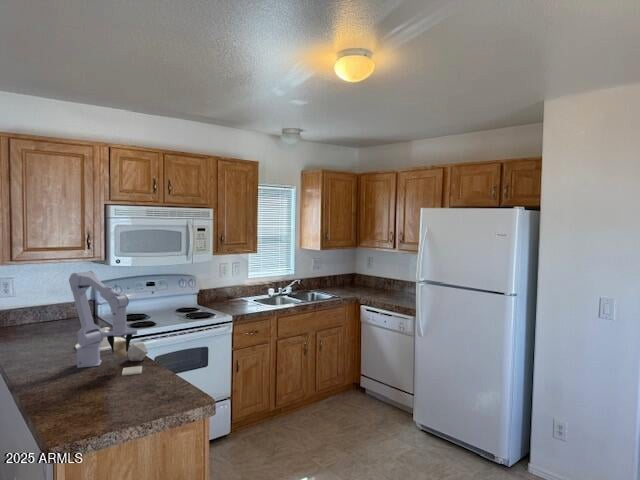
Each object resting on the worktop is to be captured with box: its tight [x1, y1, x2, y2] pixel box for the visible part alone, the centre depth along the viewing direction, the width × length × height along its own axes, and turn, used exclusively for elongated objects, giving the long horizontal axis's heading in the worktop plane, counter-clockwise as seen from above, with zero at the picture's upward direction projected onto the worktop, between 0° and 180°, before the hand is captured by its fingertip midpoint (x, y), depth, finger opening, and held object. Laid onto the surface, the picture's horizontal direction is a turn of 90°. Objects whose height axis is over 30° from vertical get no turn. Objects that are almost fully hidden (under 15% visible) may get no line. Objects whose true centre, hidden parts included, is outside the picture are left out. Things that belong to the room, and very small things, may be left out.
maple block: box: [113, 339, 128, 358], centre depth 202 cm, size 5×5×6 cm
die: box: [127, 342, 149, 362], centre depth 217 cm, size 8×9×10 cm
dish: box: [74, 326, 126, 352], centre depth 243 cm, size 25×25×11 cm
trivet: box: [121, 365, 143, 376], centre depth 201 cm, size 8×8×1 cm
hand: (120, 351), depth 203 cm, fingers closed on maple block, 5 cm apart
